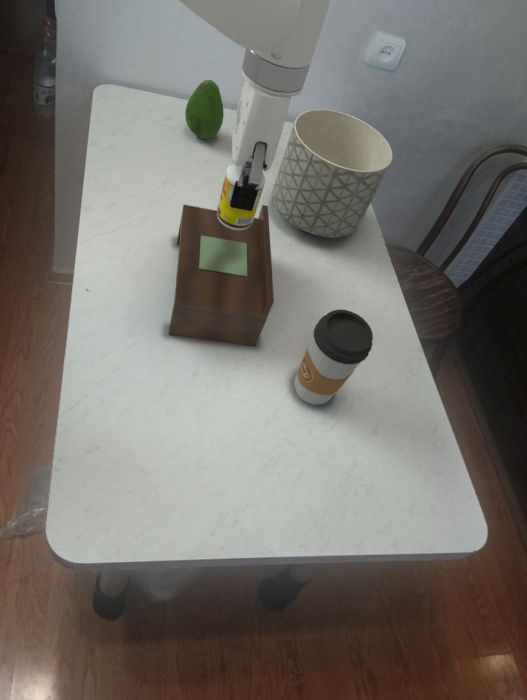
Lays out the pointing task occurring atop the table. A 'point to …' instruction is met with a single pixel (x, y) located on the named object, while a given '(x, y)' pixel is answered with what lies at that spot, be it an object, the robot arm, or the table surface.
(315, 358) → the coffee cup
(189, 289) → the shelf
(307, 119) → the planter
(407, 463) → the table surface
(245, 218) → the supplement bottle
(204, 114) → the fruit
